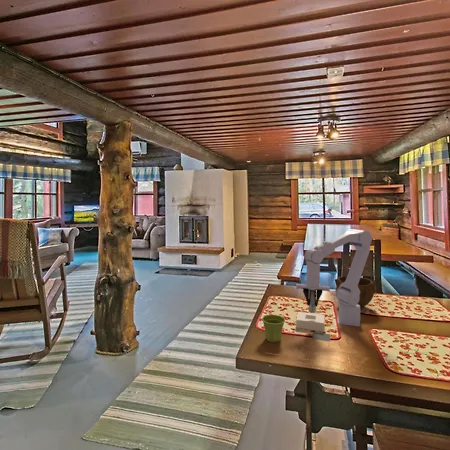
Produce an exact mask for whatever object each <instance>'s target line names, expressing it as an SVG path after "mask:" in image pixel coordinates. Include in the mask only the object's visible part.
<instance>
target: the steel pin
mask: <svg viewBox="0 0 450 450" xmlns="http://www.w3.org/2000/svg"><path fill="white" fill-rule="evenodd" d="M316 292H317V290H310V289H309V306H308V313H313V314H316V313H317V312H316V311H317V310H316V309H317V306H316Z"/></svg>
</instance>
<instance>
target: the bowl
mask: <svg viewBox="0 0 450 450" xmlns="http://www.w3.org/2000/svg"><path fill="white" fill-rule="evenodd" d="M347 276H348V275H342V276H338V277H337V278H336V287H335V292H336V291H337V289H338V288H339V287H340V285H341V284H342V283H344V282H345V281H346V278H347ZM374 285H375V283H374V281H373V280H372V279H369V278H366V277H360V280H359V283H358V288H359V290H360V295H359V302H358V304H357V305H360V308H364V307H365V306H368V305H369V304H370V303H371V301H372V300H373V298H374V295H375V292H374V290H375V289H374ZM348 290H350V289H348ZM350 291H351V290H350Z"/></svg>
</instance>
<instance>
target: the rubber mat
mask: <svg viewBox="0 0 450 450" xmlns="http://www.w3.org/2000/svg"><path fill="white" fill-rule="evenodd" d="M312 340H316V341H323V342H331V334H330V333H323V332H319V331H318V332H317V331H312Z"/></svg>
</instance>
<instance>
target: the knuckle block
mask: <svg viewBox="0 0 450 450" xmlns="http://www.w3.org/2000/svg"><path fill="white" fill-rule="evenodd" d="M295 329H302V330H310V331H316V332H317V331H318V332H325V314H320V313H310V312H304V311H297V316H296V320H295Z"/></svg>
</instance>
